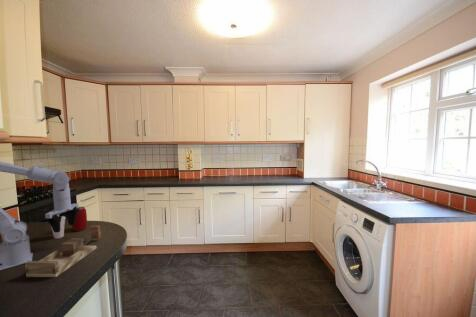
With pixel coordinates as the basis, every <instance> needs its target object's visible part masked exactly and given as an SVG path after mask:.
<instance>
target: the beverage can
mask: <svg viewBox="0 0 476 317" xmlns="http://www.w3.org/2000/svg"><path fill="white" fill-rule="evenodd" d="M78 208H79V212H78V214H77V216H76V220H75V224H74V225H71V230H72V231H74V232H81V231H83V230H85V229H86V228H88V216H87V209H86V208H85V206H78Z"/></svg>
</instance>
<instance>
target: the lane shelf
mask: <svg viewBox="0 0 476 317" xmlns="http://www.w3.org/2000/svg"><path fill="white" fill-rule="evenodd" d="M83 246H84V250H82V251H78V252H76V253H75V254H73V255H72V256H62V251H61V252H60V250H54V251H53V252H51V253H49V254H48V255H46V256H44V257H43V258H41V259H39V260H32V261H28V262H26V263H24V266H25V267H24V269H25V276H26V277H27V278H56V277H58V276H60V275H62V274H63V273H64V272H65V271H66V270H68V269H70V268H71V267H72V266H73V265H75V264H77V263H78V262H79V261H81V260H82V259H84V258H85V257H86V256H88V255H89V254H90V253H92V252H94V251H95V250H96V249H97V248H98V247H97V245H83Z"/></svg>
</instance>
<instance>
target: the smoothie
mask: <svg viewBox="0 0 476 317" xmlns="http://www.w3.org/2000/svg"><path fill="white" fill-rule="evenodd" d="M57 216H58V217H62V218H61V222H60V232H54V231H53V229H52V227H51V226H50V228H51V231H52V236H53V239H61V238H63V237H64V236H65V224H66V221H65V220H66V216H64V215H62V216H60V214H59V215H57Z"/></svg>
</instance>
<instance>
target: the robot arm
mask: <svg viewBox="0 0 476 317" xmlns="http://www.w3.org/2000/svg"><path fill="white" fill-rule="evenodd" d="M0 172H2V173H7V174H14V175H20V176H25V177H27V179H28V180H30V181H36V182H40V183H41V182H42V183H45V184H50V183H51V184H52V187H53V189H52V196H53V197H52V198H53V208H54V209H52V210H50V211H49V212H47V213H45V214H44V215H45V217H44V218H45V219H44V220H45V221H46V222H47V223H48V224H49V225H50V228H51V227H52V228H51V230H52V229H53V231H54V232H60V222H61V218H62V217H60V215H61V214H63V213H65V215H66V217H67V222H68V225H69V226H72V225H74V224H75V220H76V216H77V214H78V212H79V208H78V207H79V203H72V200H71V189H70V183H69V182H70V177H69V175H68V174H67V173H66V172H65V171H62V170H58V169H49V168H44V166H42V165H39V166H37V165H36V166H33V167H32V166H31V167H25V166H22V165H16V164H13V163H7V162H3V161H0ZM57 215H59V217H58V216H57ZM27 229H28V224H27V223H26V222H24V221H22V220H18V218H17V219H16V218H15V217H14V216H11V215H10V214H9V213H8V212H6V210H4V209H3V208H2V207H1V206H0V236H1V240H2V242H1V243H0V271H3V270H6V269H9V268H14V267H16V266H20V265H25V263H26V262H28V261H33V255H34V253H33V252H31V244H30V236H29V235H28V234H27Z"/></svg>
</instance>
